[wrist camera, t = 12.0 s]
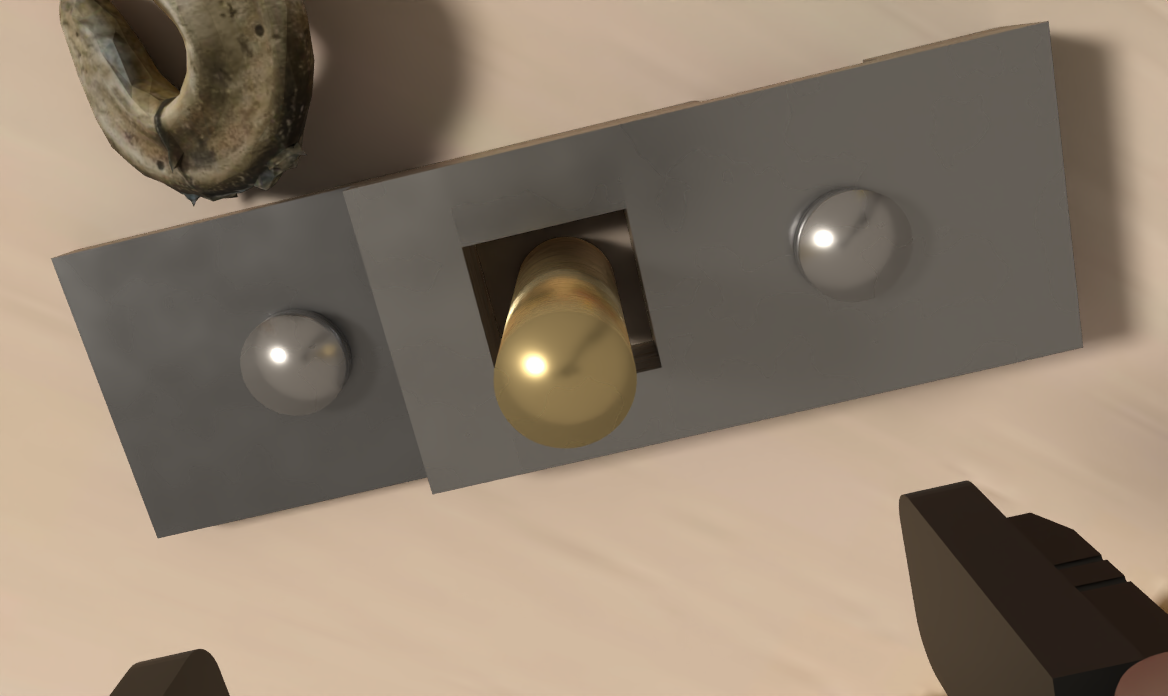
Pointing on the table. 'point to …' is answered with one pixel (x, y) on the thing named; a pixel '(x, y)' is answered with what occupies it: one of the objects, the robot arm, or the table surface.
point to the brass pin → (565, 348)
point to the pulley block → (200, 91)
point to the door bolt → (664, 263)
